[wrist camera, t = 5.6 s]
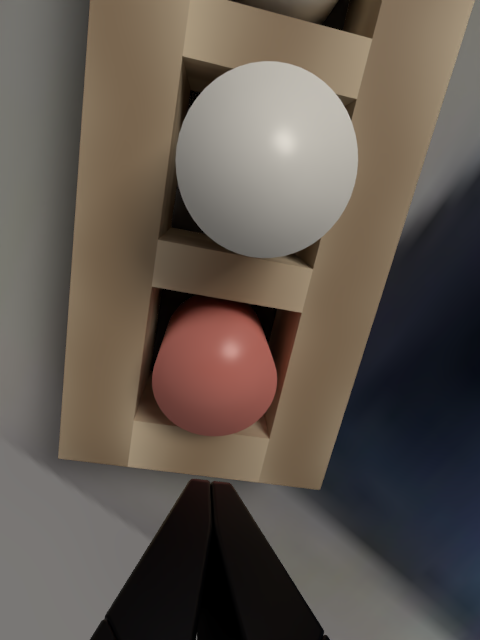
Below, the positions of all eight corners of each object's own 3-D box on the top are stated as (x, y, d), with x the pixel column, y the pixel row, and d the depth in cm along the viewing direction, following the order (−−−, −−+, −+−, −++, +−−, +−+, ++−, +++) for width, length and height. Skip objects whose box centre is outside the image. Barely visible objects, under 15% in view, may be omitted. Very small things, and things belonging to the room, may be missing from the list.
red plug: (272, 300, 16) (290, 335, 12) (251, 387, 17) (262, 443, 14) (173, 283, 16) (161, 313, 12) (160, 373, 17) (144, 427, 13)
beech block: (461, -146, 13) (565, -284, 9) (299, 430, 20) (320, 489, 16) (151, -250, 12) (121, -460, 8) (90, 402, 18) (57, 458, 15)
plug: (329, 117, 12) (381, 86, 8) (297, 247, 13) (330, 272, 10) (198, 87, 12) (191, 39, 8) (178, 224, 13) (163, 240, 9)
